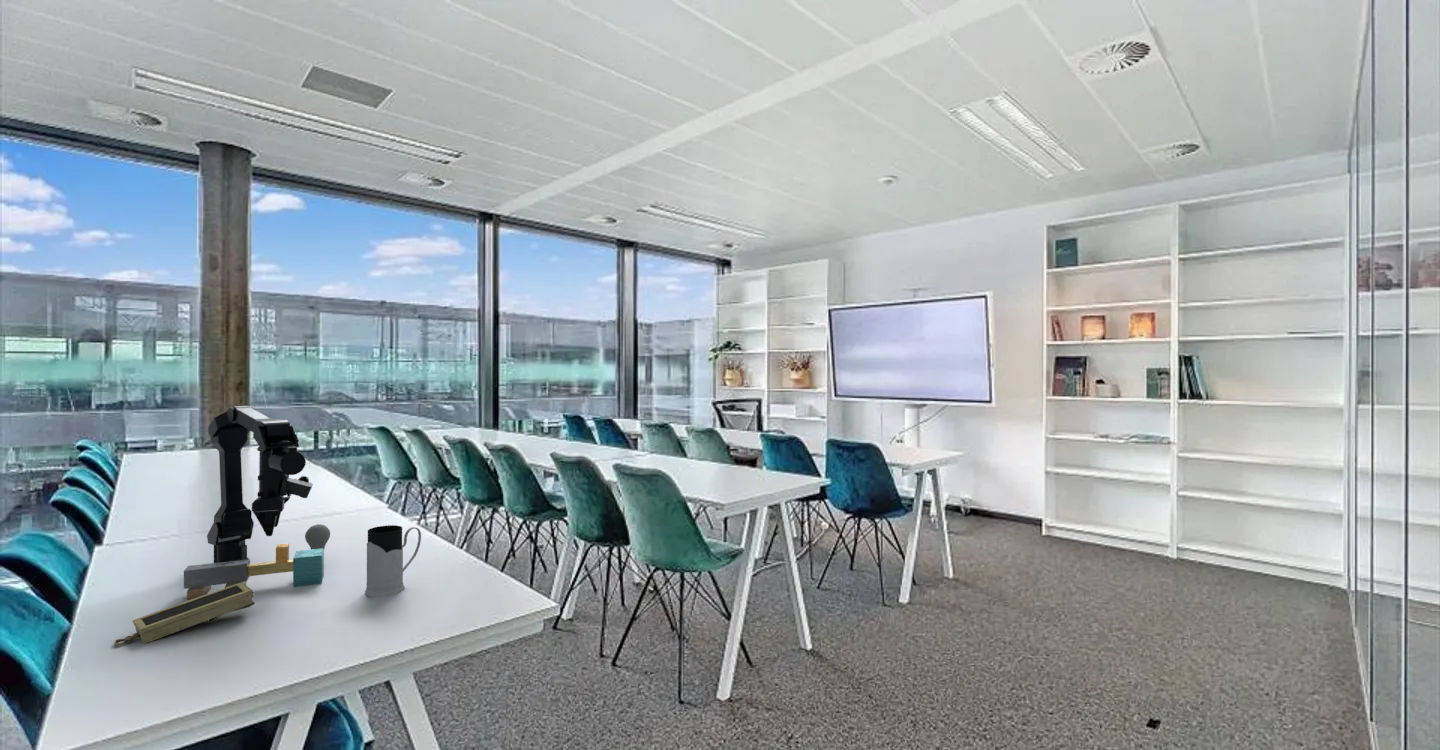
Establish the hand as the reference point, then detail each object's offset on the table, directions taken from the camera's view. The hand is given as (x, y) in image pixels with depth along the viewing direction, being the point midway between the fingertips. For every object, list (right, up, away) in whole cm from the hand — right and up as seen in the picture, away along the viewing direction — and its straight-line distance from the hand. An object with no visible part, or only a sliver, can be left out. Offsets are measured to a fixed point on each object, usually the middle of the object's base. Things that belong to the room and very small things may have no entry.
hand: (272, 531), depth 164 cm
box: (+3, -13, -30) cm, 32 cm away
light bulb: (+1, -12, +17) cm, 21 cm away
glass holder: (+33, -13, -4) cm, 36 cm away
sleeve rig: (0, -13, -5) cm, 14 cm away
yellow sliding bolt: (+1, -9, -5) cm, 10 cm away
